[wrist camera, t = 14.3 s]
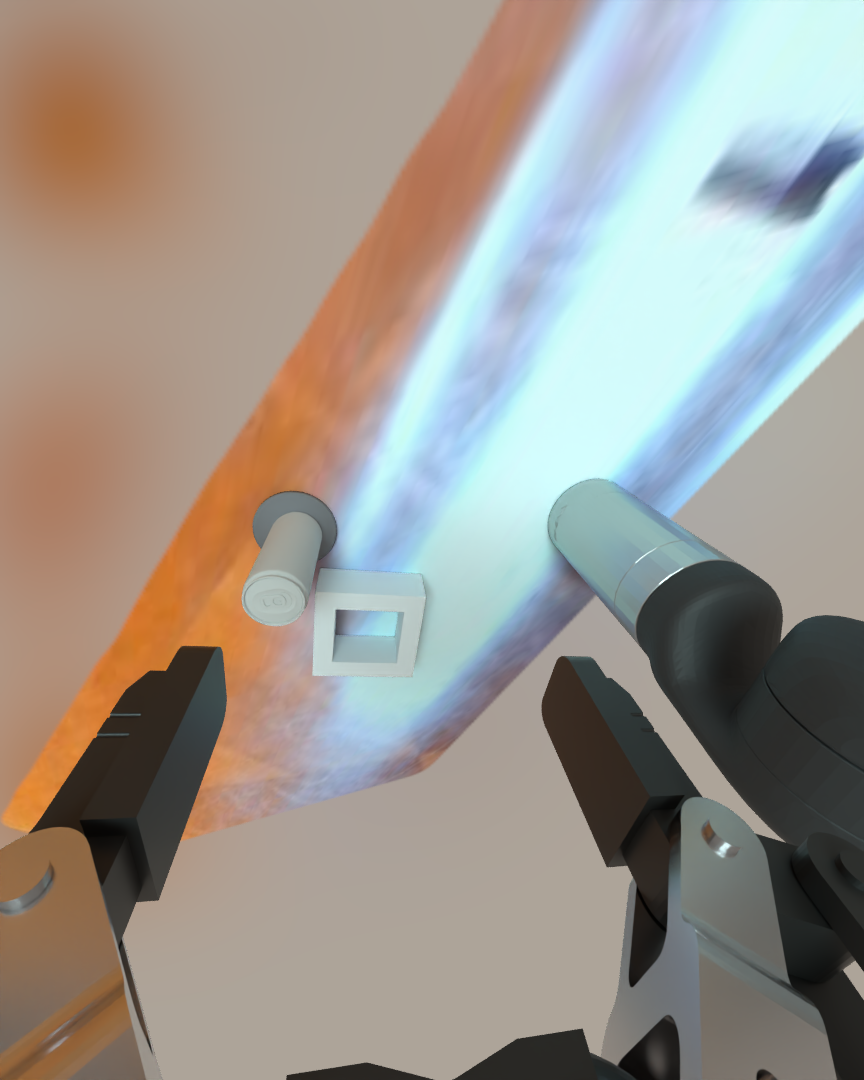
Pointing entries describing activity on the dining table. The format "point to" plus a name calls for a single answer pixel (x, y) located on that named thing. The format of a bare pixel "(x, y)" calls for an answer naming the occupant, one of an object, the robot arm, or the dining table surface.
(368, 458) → the dining table surface
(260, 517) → the coaster
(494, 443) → the dining table surface
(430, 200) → the dining table surface
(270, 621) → the beverage can
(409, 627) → the pocket block
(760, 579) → the robot arm
